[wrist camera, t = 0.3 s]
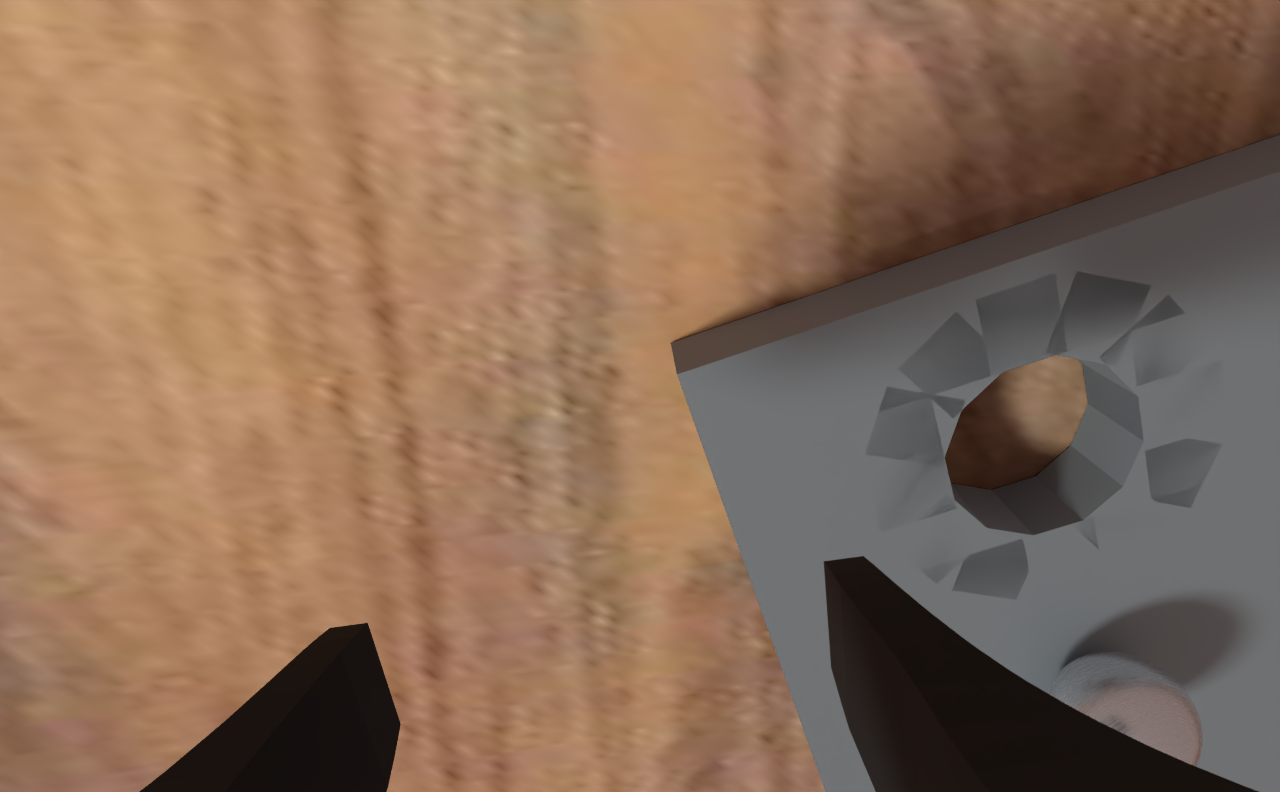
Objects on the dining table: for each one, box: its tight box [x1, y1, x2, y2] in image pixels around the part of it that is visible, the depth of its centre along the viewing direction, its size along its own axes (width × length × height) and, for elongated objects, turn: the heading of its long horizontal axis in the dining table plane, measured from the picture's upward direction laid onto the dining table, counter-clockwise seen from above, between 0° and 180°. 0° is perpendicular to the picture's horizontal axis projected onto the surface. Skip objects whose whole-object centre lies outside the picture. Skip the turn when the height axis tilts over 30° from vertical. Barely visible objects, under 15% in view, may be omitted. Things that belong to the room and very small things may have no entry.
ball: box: [1048, 651, 1203, 766], centre depth 21 cm, size 4×4×4 cm
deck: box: [671, 135, 1280, 792], centre depth 23 cm, size 20×16×2 cm
